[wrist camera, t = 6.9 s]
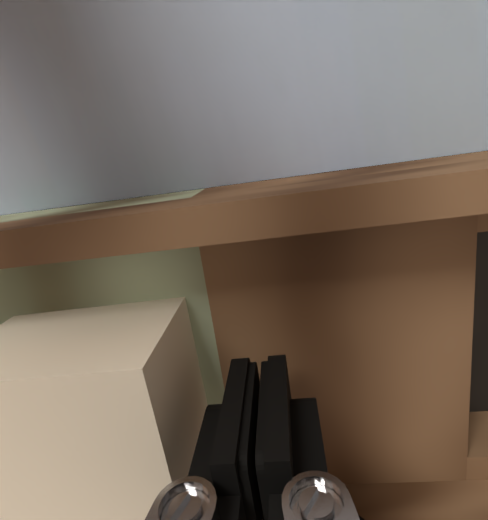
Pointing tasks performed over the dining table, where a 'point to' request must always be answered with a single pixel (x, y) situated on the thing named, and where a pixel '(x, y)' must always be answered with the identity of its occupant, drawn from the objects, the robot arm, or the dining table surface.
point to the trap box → (310, 307)
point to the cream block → (97, 410)
